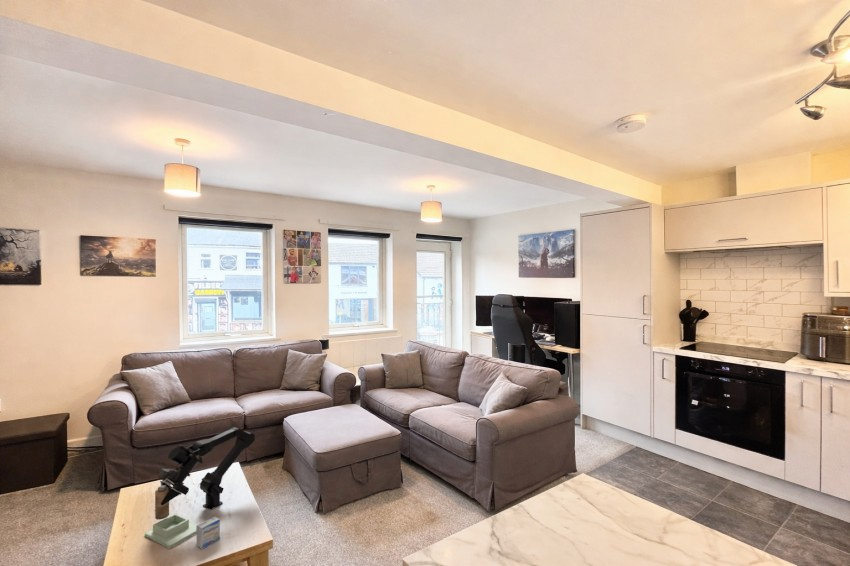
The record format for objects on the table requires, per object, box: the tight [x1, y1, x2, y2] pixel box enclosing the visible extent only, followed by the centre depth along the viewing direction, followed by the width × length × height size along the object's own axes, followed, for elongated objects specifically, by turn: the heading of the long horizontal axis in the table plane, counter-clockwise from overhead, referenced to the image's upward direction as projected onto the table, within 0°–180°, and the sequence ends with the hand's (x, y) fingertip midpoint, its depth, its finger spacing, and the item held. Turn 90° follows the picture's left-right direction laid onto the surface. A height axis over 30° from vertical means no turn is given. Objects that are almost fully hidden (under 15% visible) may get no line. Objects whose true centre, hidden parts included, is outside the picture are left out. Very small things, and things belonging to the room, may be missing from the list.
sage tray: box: [144, 513, 198, 549], centre depth 174 cm, size 18×14×4 cm
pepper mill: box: [154, 485, 170, 521], centre depth 177 cm, size 5×5×13 cm
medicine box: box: [195, 516, 221, 549], centre depth 168 cm, size 8×4×9 cm, turn 148°
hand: (158, 502), depth 175 cm, fingers closed on pepper mill, 5 cm apart
